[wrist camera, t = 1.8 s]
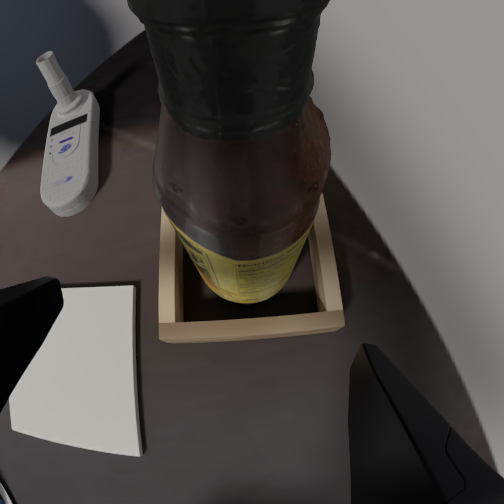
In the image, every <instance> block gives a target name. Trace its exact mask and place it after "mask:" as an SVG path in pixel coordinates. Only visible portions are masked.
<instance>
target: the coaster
mask: <svg viewBox="0 0 504 504" xmlns="http://www.w3.org/2000/svg"><path fill="white" fill-rule="evenodd" d="M61 289H62V294H63V299H64V305H63V308H62V310H61V312H60V314H59V316H58V317H57V319H56V321H55V323H54V324H53V326H52V328H51V330H50V332H49V333H48V335H47V337H46V339H45V341H44V342H43V344H42V346H41V347H40V349H39V350H38V352H37V353H36V355H35V356H34V358H33V359H32V361H31V363H30V364H29V366H28V367H27V369H26V370H25V372H24V374H23V375H22V377H21V378H20V380H19V382H18V383H17V385H16V387H15V388H14V390H13V392H12V393H11V395H10V397H9V403H10V415H11V425H12V430H14V431H18V432H21V433H24V434H27V435H31V436H34V437H38V438H41V439H45V440H49V441H53V442H57V443H61V444H65V445H70V446H75V447H79V448H85V449H90V450H95V451H101V452H107V453H114V454H121V455H129V456H138V457H140V456H142V455H143V451H142V442H141V433H140V422H139V409H138V395H137V375H136V334H135V320H136V287H135V286H133V285H130V286H108V287H84V288H61Z"/></svg>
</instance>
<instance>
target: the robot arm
mask: <svg viewBox="0 0 504 504" xmlns="http://www.w3.org/2000/svg"><path fill="white" fill-rule="evenodd" d="M63 305H64V299H63V294H62V289H61V284H60V281H59V280H58V279H57V278H54V277H51V276H46V277H42V278H39V279H35V280H32V281H28V282H25V283H21V284H18V285H14V286H11V287H7V288H4V289H0V413H1V411H2V409H3V407H4V406H5V404H6V402H7V400H8V399H9V397H10V395H11V393H12V392H13V390H14V388H15V387H16V385H17V383H18V382H19V380H20V378H21V377H22V375H23V374H24V372H25V370H26V369H27V367H28V366H29V364H30V363H31V361H32V359H33V358H34V356H35V355H36V353H37V352H38V350H39V349H40V347H41V346H42V344H43V342H44V341H45V339H46V337H47V335H48V333H49V332H50V330H51V328H52V326H53V324H54V323H55V321H56V319H57V317H58V316H59V314H60V312H61V310H62V308H63ZM348 430H349V448H350V471H351V504H504V478H503V477H502V476H501V475H500V474H498V473H497V472H496V471H495V470H494V469H493V468H492V467H491V466H490V465H489V464H488V463H487V462H486V461H484V460H483V459H482V458H481V457H480V456H479V455H478V454H477V453H476V452H475V451H474V450H473V449H472V448H471V447H470V446H469V445H468V444H467V443H466V441H465V440H464V439H463V438H462V437H461V436H460V435H459V434H458V433H457V432H456V431H455V430H454V428H453V427H450V424H449V423H448V422H447V421H446V420H445V419H444V417H443V416H442V415H441V414H440V413H439V412H438V411H437V410H436V409H435V408H434V406H433V405H432V404H431V403H430V402H429V401H428V400H427V399H426V398H425V397H424V396H423V394H422V393H421V392H420V391H419V390H418V389H417V388H416V387H415V386H414V385H413V384H412V383H411V382H410V380H409V379H408V378H407V377H406V376H405V375H404V374H403V373H402V372H401V371H400V370H399V369H398V368H397V367H396V365H395V364H394V363H393V362H392V361H391V360H390V359H389V358H388V357H387V356H386V355H385V354H384V353H383V352H382V351H381V350H380V348H379V347H378V346H376V345H374V344H365V343H363V344H361V345H360V347H359V349H358V351H357V354H356V356H355V358H354V360H353V363H352V365H351V369H350V384H349V409H348Z"/></svg>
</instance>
